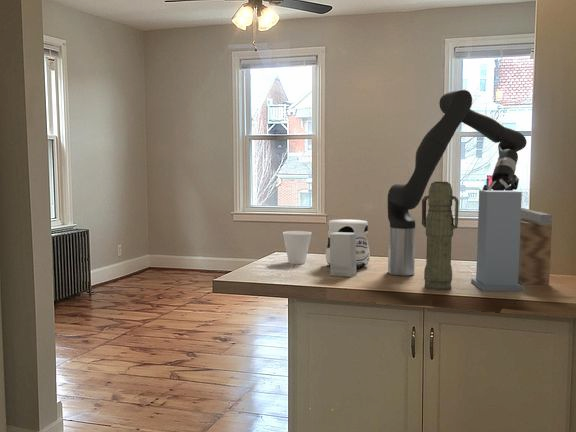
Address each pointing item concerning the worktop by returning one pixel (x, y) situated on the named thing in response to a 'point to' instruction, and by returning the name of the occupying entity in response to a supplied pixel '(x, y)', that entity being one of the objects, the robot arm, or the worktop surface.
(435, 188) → the thermos
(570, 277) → the worktop surface
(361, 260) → the milk container
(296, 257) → the cup
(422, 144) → the robot arm
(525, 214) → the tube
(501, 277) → the gray pedestal
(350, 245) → the skincare box
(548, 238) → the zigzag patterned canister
